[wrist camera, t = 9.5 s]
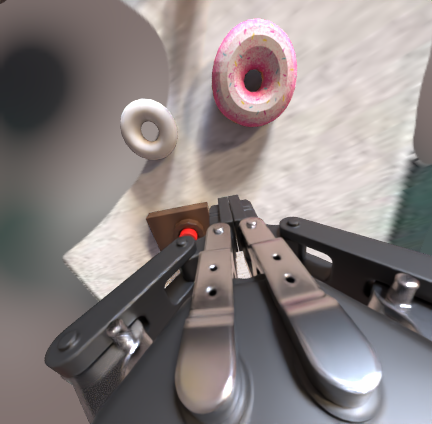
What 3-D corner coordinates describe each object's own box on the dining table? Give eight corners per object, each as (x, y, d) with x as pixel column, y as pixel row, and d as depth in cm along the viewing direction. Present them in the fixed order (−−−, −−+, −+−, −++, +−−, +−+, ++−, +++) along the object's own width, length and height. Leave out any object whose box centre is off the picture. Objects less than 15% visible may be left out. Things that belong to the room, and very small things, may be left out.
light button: (182, 243, 41) (181, 249, 39) (177, 229, 39) (176, 235, 37) (199, 240, 40) (198, 246, 39) (195, 226, 38) (194, 231, 37)
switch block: (164, 248, 46) (160, 260, 42) (149, 212, 41) (143, 222, 37) (216, 238, 45) (216, 250, 41) (207, 201, 40) (207, 210, 36)
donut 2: (210, 28, 26) (211, 10, 22) (296, 29, 27) (314, 11, 23) (212, 126, 33) (212, 127, 28) (281, 126, 33) (292, 127, 29)
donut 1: (146, 165, 36) (188, 145, 34) (140, 170, 33) (186, 147, 31) (113, 115, 31) (160, 88, 30) (103, 115, 28) (155, 85, 27)
